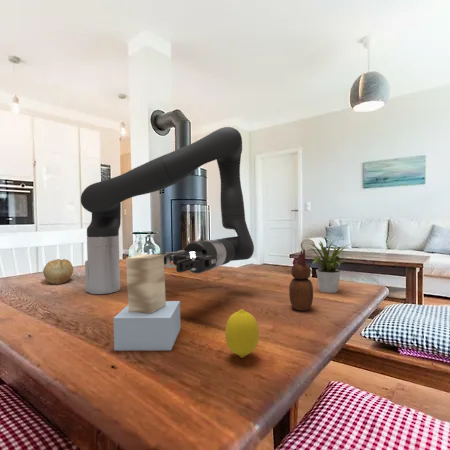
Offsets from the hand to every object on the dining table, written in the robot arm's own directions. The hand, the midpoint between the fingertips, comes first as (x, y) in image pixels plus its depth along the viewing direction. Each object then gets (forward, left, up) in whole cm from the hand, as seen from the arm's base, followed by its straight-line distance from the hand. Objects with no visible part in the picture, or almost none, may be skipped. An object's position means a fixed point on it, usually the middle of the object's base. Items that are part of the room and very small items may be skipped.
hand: (161, 265), depth 61 cm
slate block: (0, -4, -14) cm, 14 cm away
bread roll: (-61, +30, -14) cm, 70 cm away
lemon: (+18, -6, -14) cm, 24 cm away
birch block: (-1, -4, -8) cm, 9 cm away
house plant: (+30, +43, -14) cm, 55 cm away
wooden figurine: (+25, +23, -14) cm, 37 cm away
